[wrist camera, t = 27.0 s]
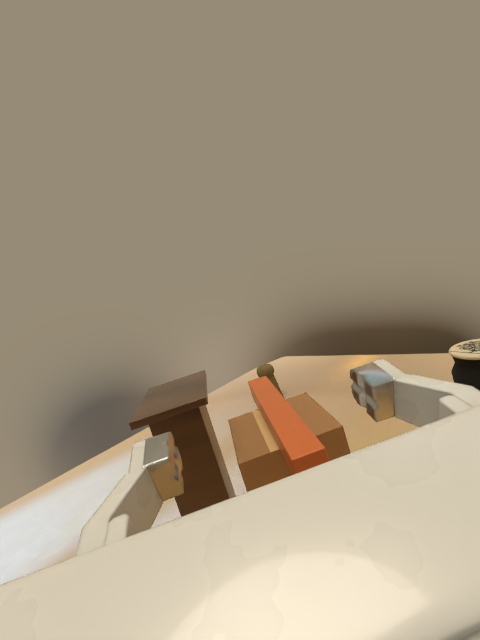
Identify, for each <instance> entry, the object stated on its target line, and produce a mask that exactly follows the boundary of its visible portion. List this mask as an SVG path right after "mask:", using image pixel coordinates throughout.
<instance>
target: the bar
mask: <svg viewBox="0 0 480 640" xmlns="http://www.w3.org/2000/svg"><path fill="white" fill-rule="evenodd" d="M248 383H249V386H250V389H251V393H252V396H253V399H254V401H255V403H256V405H257V407H258V409H259V411H260V413H261V415H262V416H263V418H264V420H265V422H266V424H267V426H268V428H269V430H270V432H271V434H272V436H273V438H274V440H275V442H276V444H277V446H278V448H279V450H280V452H281V454H282V455H283V457H284V459H285V461H286V463H287V465H288V467H289V469H290V471H291V473H292V475H294V474H297V473H299V472H302V471H305V470H307V469H310V468H313V467H315V466H318V465H321V464H323V463H326V462H329V458H328V455H327V452H326V448H325V447H324V446H323V444H322V443H321V442H320V441H319V440H318V438H317V437H316V436H315V435H314V433H313V432H312V431H311V430H310V429H309V427H308V426H307V425H306V424H305V423H304V421H303V420H302V419H301V418H300V417H299V415H298V414H297V413H296V412H295V410H294V409H293V408H292V407H291V406H290V404H289V403H288V402H287V401H286V400H285V398H284V397H283V396H282V395H281V394H280V392H279V391H278V390H277V389H276V387H275V386H274V385H273V384H272V383H271V381H270V380H269V379H268V378H267V377H266V376H263V377H260V378H257V379H254V380H251V381H249V382H248Z"/></svg>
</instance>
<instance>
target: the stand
mask: <svg viewBox="0 0 480 640" xmlns="http://www.w3.org/2000/svg"><path fill="white" fill-rule="evenodd" d="M206 404H208V398H207V383H206V373H205V371H201V372H198V373H195V374H192V375H189V376H186V377H183V378H180V379H177V380H174V381H171V382H168V383H165V384H162V385H159V386H156V387H153V388H150V389H149V390H148V392H147V393H146V395H145V397H144V399H143V400H142V402H141V404H140V405H139V407H138V409H137V410H136V412H135V414H134V416H133V417H132V419H131V421H130V423H129V425H130V427H131V430H134V429H137V428H140V427H143V426H145V425H148V424H149V427H150V430H151V432H152V435H153V437H154V436H157V435H160V434H163V433H166V432H171V433H172V435H173V438H174V445H175V446H176V447H178V450H179V452H180V456H181V460H182V467H183V471H182V472H181V475H182V477H183V485H184V493H183V494H180V495H178V496H175V500H176V503H177V506H178V508H179V511H180V514H181V517H182V516H185V515H188V514H190V513H193V512H196V511H198V510H201V509H204V508H206V507H209V506H212V505H214V504H217V503H220V502H222V501H225V500H228V499H230V498H233V497H236V495H235V492H234V489H233V486H232V483H231V480H230V477H229V474H228V471H227V468H226V465H225V462H224V459H223V456H222V453H221V450H220V447H219V444H218V441H217V438H216V435H215V432H214V429H213V426H212V423H211V420H210V417H209V414H208V411H207V408H206Z"/></svg>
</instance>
